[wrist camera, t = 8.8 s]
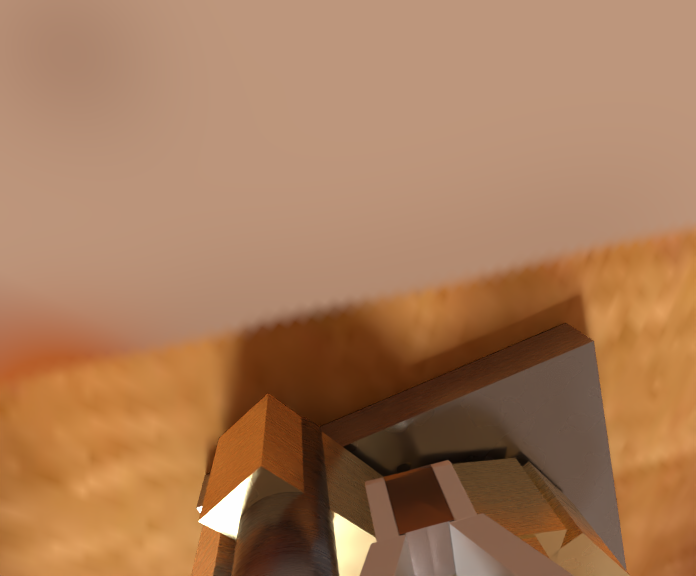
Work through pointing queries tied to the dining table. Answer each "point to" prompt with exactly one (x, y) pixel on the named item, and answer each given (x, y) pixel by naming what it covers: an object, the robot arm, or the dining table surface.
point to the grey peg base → (486, 430)
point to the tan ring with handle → (361, 502)
